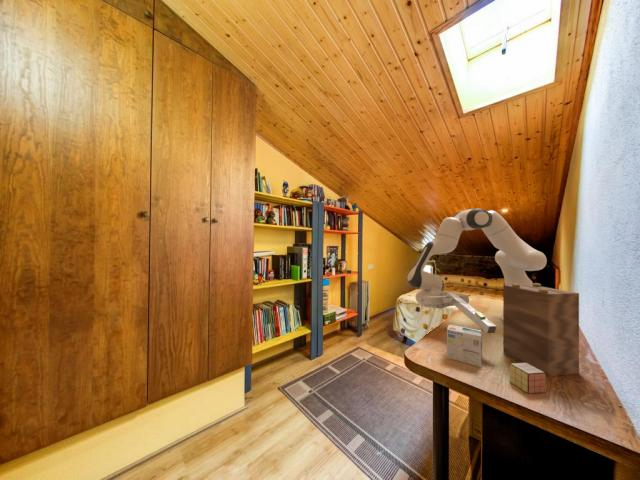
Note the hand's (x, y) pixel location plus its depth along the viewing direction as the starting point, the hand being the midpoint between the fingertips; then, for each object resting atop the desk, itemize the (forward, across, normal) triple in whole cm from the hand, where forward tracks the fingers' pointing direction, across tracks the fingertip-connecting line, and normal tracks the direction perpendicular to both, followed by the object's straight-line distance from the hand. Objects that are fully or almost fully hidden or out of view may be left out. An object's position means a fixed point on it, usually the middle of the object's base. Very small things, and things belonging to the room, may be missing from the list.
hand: (457, 300), depth 101 cm
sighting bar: (+5, 0, +5) cm, 7 cm away
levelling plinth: (+18, +14, +21) cm, 31 cm away
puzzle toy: (+29, -4, +24) cm, 38 cm away
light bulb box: (+13, -10, +20) cm, 26 cm away
